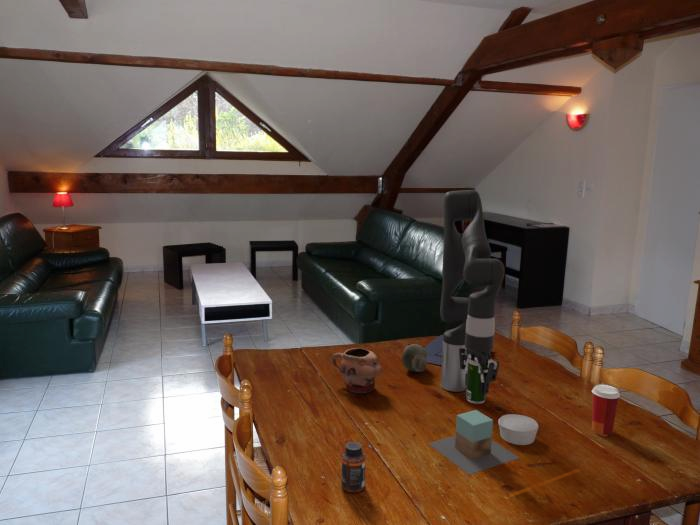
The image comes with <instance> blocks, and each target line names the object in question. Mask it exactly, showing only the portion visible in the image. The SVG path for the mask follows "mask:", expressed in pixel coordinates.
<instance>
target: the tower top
mask: <svg viewBox="0 0 700 525" xmlns="http://www.w3.org/2000/svg"><path fill="white" fill-rule="evenodd" d="M455 421H456V423H455V424H456V425H455V426H456V427H455V433H456V432H458V433H459V434H460V435H462V436H463V437H465V438H466V439H468V440H469V441H471V442H472V443H473V442H476V441H479V440H483V439H486V438H489V437H492V438H493V427H494V426H493V425H494V419H492V418H490V417H489V416H487V415H485V414H484V413H482V412H480V411H479V410H477V409H474V410H470V411H467V412H464V413H459V414H456V420H455Z"/></svg>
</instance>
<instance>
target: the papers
mask: <svg viewBox="0 0 700 525" xmlns="http://www.w3.org/2000/svg"><path fill="white" fill-rule="evenodd" d="M423 348H424V349H425V350H426V353H427V357H426V363H428V364H432V365H433V364H434V365H438V366H442V352H443V334H440V335H439V336H438V337H435V338H434V339H432V340H431V342H428V344H427V345H426V346H425V347H423Z"/></svg>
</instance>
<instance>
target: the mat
mask: <svg viewBox="0 0 700 525" xmlns="http://www.w3.org/2000/svg"><path fill="white" fill-rule="evenodd" d="M455 439H456V434H455V435H451V436H448V437H445V438H441V439H438V440H435V441H432V442H428V443H427V445H429V446H430V447H432V448H433V449H434V450H436V452H438V453H439V454H441V455H442V456H443V457H445V458H447V459H448V460H449V461H450V462H451V463H453V464H454V465H455V466H456V467H458V468H460V469H461V470H462V471H463V472H464V473H466V474H467V475H473V474H476V473H479V472H482V471H485V470H488V469H490V468H495V467H497V466H500V465H503V464H505V463H509V462H512V461H515V460H518V459H520V457H519V456H518V455H516V454H515V453H513V452H512V451H510V449H509V450H508V449H507V448H505V447H504V446H503V445H502V444H499V443H498V442H496V441H494V440H493V439H492V443H491V453H490V454H487V455H484V456H480V457H477V458H474V459H470V458H469V457H467V456H466V455H465V454H463V453H462V452H460V451H459V450H458V449H456V448H455Z"/></svg>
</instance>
